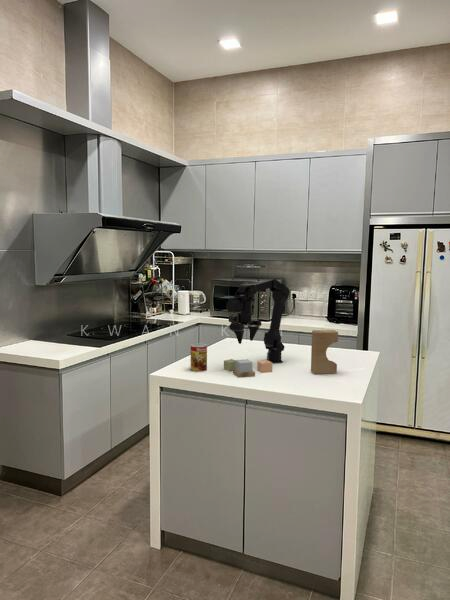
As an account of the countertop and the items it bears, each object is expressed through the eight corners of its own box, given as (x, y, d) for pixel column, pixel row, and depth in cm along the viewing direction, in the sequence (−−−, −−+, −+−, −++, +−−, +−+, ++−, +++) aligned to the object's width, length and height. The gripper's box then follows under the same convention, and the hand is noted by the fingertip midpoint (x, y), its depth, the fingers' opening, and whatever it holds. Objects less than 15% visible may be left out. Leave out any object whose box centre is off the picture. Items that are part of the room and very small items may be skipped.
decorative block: (332, 370, 214) (334, 329, 212) (337, 373, 208) (338, 331, 206) (310, 371, 212) (311, 330, 210) (314, 374, 207) (315, 332, 205)
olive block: (231, 368, 217) (232, 359, 216) (238, 370, 213) (238, 361, 213) (223, 369, 214) (223, 360, 213) (230, 371, 210) (230, 362, 210)
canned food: (200, 372, 208) (200, 347, 206) (187, 370, 212) (187, 345, 210) (210, 369, 214) (210, 344, 213) (196, 366, 218) (196, 342, 217)
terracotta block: (267, 369, 216) (267, 360, 215) (272, 372, 210) (272, 362, 210) (257, 370, 214) (257, 360, 213) (261, 373, 209) (261, 363, 208)
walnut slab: (248, 373, 210) (248, 367, 210) (254, 377, 202) (255, 372, 202) (232, 374, 208) (232, 369, 207) (238, 378, 200) (238, 373, 200)
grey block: (247, 368, 208) (247, 359, 208) (252, 371, 203) (252, 362, 202) (235, 369, 207) (235, 360, 206) (239, 372, 201) (239, 363, 200)
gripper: (244, 307, 226) (244, 337, 228) (220, 311, 212) (220, 343, 214) (262, 308, 219) (261, 339, 221) (238, 313, 205) (238, 346, 207)
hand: (245, 342), depth 216 cm, fingers open, 9 cm apart
